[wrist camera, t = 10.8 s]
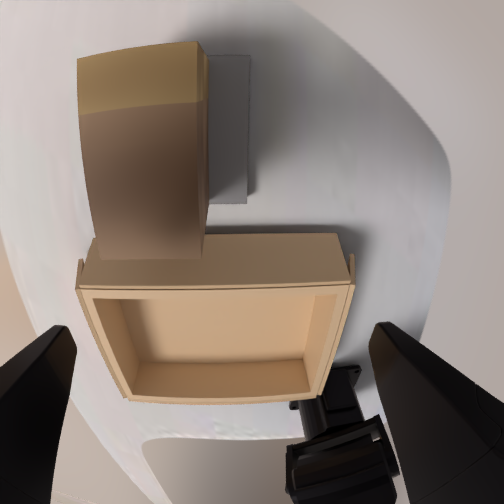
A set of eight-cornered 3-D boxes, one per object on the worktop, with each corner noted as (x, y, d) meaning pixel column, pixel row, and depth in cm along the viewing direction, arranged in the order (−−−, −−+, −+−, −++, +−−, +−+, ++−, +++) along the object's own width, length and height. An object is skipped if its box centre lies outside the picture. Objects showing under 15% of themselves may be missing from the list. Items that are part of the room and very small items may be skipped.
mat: (245, 197, 17) (247, 203, 16) (113, 202, 17) (107, 208, 16) (248, 57, 13) (250, 55, 12) (102, 70, 13) (95, 69, 12)
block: (209, 200, 16) (201, 258, 11) (138, 202, 16) (101, 259, 11) (209, 60, 12) (197, 41, 7) (130, 67, 12) (77, 58, 7)
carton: (320, 367, 26) (330, 402, 22) (124, 370, 25) (116, 406, 21) (354, 227, 19) (380, 260, 15) (77, 233, 17) (50, 266, 14)
